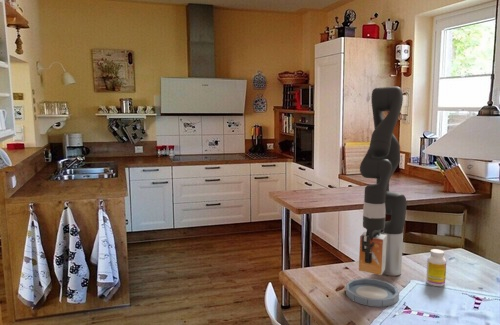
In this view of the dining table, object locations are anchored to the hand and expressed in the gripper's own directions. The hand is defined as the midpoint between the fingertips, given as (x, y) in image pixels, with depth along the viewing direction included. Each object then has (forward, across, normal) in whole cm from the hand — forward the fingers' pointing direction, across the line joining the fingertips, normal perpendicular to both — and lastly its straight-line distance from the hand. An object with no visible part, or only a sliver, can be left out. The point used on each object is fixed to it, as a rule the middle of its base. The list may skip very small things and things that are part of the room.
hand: (372, 259), depth 146 cm
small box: (+4, 0, 0) cm, 4 cm away
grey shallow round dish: (+13, 0, 0) cm, 13 cm away
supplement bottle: (+13, -25, +15) cm, 32 cm away
